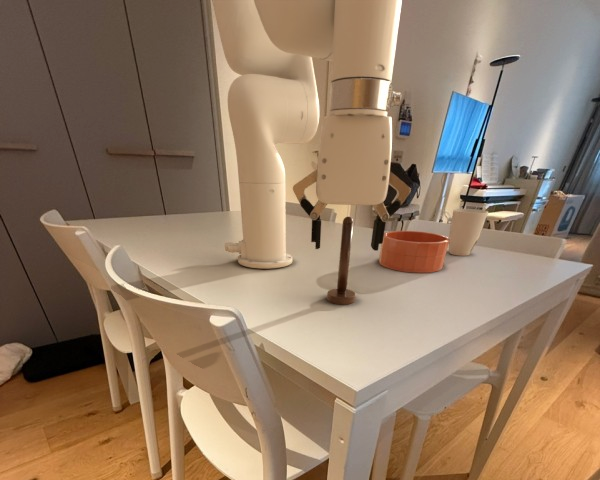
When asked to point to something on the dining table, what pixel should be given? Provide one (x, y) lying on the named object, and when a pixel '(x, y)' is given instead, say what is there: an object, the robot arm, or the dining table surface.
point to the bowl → (413, 251)
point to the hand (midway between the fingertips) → (345, 247)
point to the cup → (465, 230)
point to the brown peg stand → (343, 267)
